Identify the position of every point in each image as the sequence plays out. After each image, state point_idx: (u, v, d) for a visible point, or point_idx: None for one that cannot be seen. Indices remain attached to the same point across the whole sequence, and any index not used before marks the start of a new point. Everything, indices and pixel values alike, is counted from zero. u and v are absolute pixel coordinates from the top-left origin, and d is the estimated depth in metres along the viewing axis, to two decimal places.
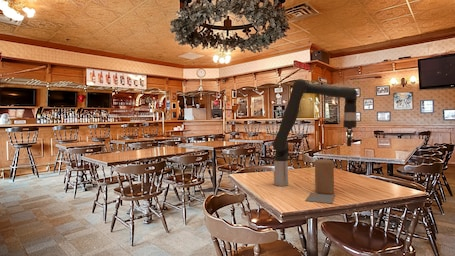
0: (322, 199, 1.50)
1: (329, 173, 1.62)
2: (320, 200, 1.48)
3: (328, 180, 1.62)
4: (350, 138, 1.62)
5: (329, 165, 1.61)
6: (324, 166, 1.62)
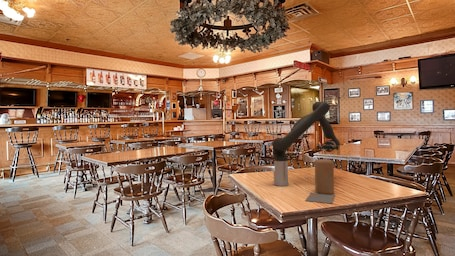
0: (322, 199, 1.50)
1: (329, 173, 1.62)
2: (320, 200, 1.48)
3: (328, 180, 1.62)
4: None
5: (329, 165, 1.62)
6: (324, 166, 1.62)
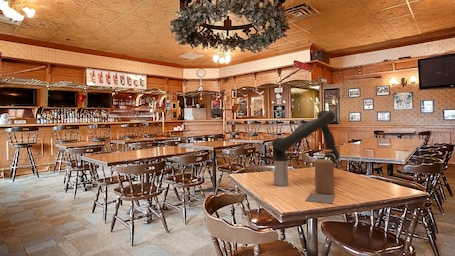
0: (322, 199, 1.50)
1: (329, 173, 1.62)
2: (320, 200, 1.48)
3: (328, 180, 1.62)
4: None
5: (329, 165, 1.61)
6: (324, 166, 1.62)
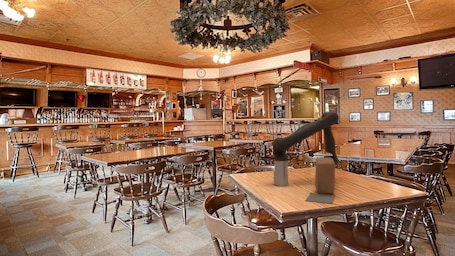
0: (322, 199, 1.50)
1: (329, 174, 1.59)
2: (320, 200, 1.48)
3: (328, 181, 1.60)
4: None
5: (331, 167, 1.57)
6: (325, 168, 1.58)
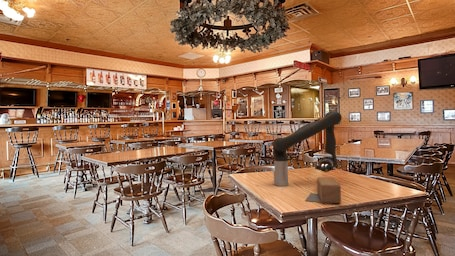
0: None
1: None
2: (320, 200, 1.48)
3: None
4: (329, 169, 1.65)
5: None
6: None
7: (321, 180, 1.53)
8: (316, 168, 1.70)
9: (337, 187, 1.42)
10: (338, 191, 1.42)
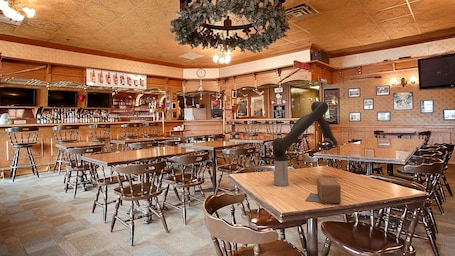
0: None
1: None
2: (320, 200, 1.48)
3: None
4: (329, 147, 1.82)
5: None
6: None
7: (321, 180, 1.53)
8: (318, 146, 1.87)
9: (337, 187, 1.42)
10: (338, 191, 1.42)
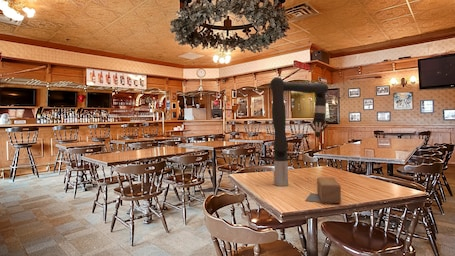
0: None
1: None
2: (320, 200, 1.48)
3: None
4: (322, 130, 1.86)
5: None
6: None
7: (321, 180, 1.53)
8: None
9: (337, 187, 1.42)
10: (338, 191, 1.42)
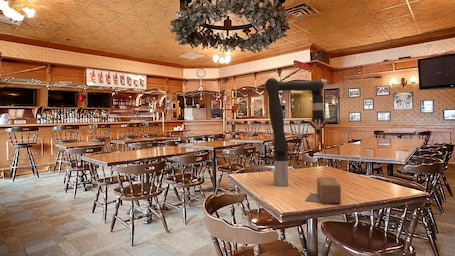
0: None
1: None
2: (320, 200, 1.48)
3: None
4: (322, 127, 1.85)
5: None
6: None
7: (321, 180, 1.53)
8: (311, 125, 1.89)
9: (337, 187, 1.42)
10: (338, 191, 1.42)
